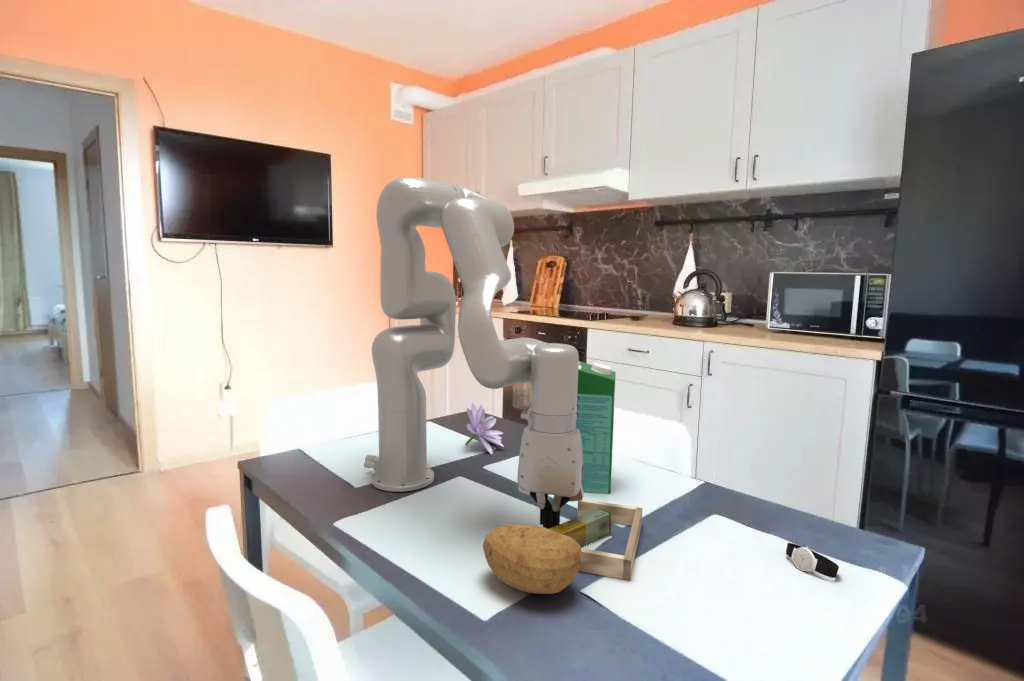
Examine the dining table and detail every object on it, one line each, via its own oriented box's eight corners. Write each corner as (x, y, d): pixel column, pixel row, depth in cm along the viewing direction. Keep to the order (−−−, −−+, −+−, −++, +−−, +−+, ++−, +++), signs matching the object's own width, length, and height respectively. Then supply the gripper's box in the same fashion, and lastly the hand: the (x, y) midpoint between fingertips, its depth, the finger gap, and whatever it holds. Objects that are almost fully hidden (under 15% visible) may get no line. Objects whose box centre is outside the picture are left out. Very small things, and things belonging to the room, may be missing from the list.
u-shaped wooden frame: (553, 566, 79) (554, 546, 79) (578, 514, 96) (579, 498, 96) (629, 580, 76) (630, 560, 75) (641, 524, 93) (642, 508, 92)
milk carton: (610, 494, 105) (615, 368, 102) (564, 489, 107) (567, 365, 104) (611, 477, 114) (616, 360, 111) (568, 473, 116) (572, 358, 113)
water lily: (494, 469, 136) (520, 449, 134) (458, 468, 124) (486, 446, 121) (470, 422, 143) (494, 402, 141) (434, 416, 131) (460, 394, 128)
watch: (777, 559, 83) (779, 536, 82) (798, 552, 84) (800, 531, 84) (824, 585, 76) (826, 561, 75) (846, 578, 78) (848, 554, 77)
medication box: (599, 529, 91) (599, 507, 91) (611, 535, 89) (612, 512, 89) (547, 552, 84) (547, 527, 83) (559, 559, 81) (559, 534, 81)
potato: (501, 557, 82) (501, 506, 80) (590, 581, 75) (592, 527, 74) (467, 590, 73) (468, 534, 72) (565, 621, 67) (567, 560, 66)
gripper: (500, 422, 85) (498, 532, 87) (595, 432, 80) (590, 549, 83) (515, 411, 92) (513, 513, 94) (603, 420, 87) (598, 527, 90)
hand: (549, 529), depth 89 cm, fingers closed
